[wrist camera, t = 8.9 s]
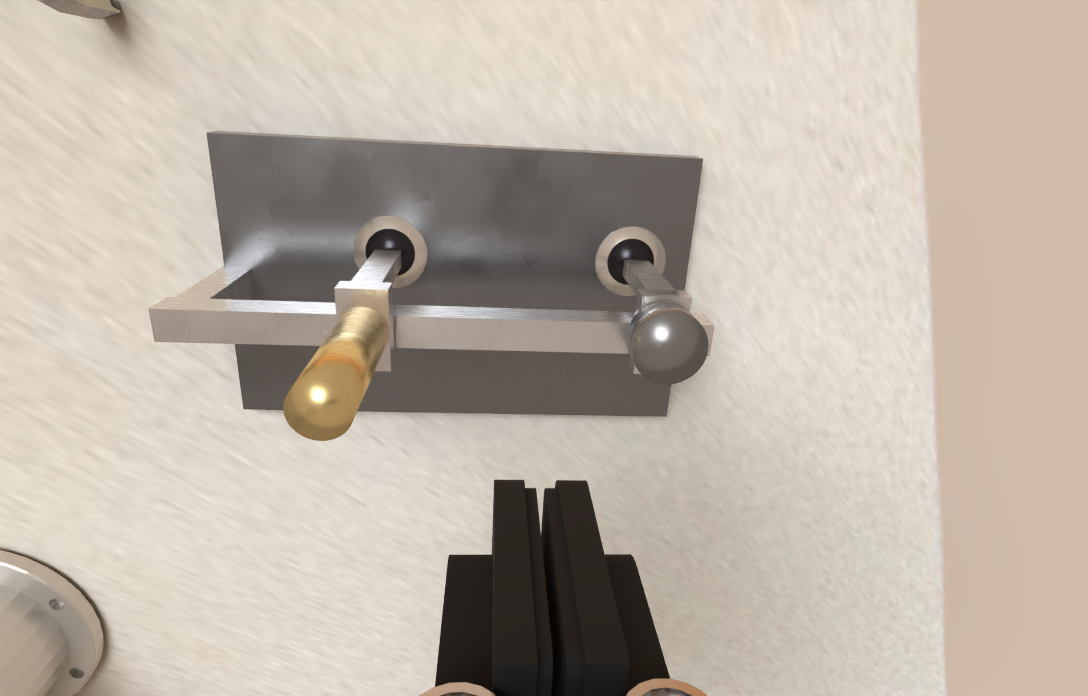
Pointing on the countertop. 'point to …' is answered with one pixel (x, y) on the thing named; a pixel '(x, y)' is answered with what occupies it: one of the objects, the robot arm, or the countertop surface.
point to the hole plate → (455, 256)
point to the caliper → (85, 7)
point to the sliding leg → (348, 352)
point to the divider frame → (457, 324)
